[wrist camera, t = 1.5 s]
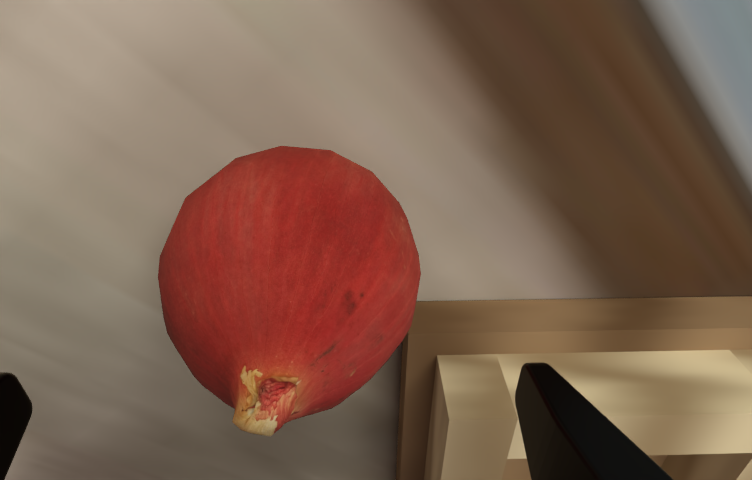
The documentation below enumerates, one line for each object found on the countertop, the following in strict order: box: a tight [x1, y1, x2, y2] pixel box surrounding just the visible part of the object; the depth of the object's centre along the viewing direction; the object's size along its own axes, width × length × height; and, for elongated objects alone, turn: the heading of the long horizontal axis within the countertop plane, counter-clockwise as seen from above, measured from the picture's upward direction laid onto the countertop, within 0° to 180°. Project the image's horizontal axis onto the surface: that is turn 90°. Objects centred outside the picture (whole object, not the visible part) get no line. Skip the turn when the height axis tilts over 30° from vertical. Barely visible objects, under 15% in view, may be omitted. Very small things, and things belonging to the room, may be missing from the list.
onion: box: [158, 146, 421, 436], centre depth 11 cm, size 6×6×8 cm
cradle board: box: [396, 296, 752, 480], centre depth 18 cm, size 14×14×4 cm
